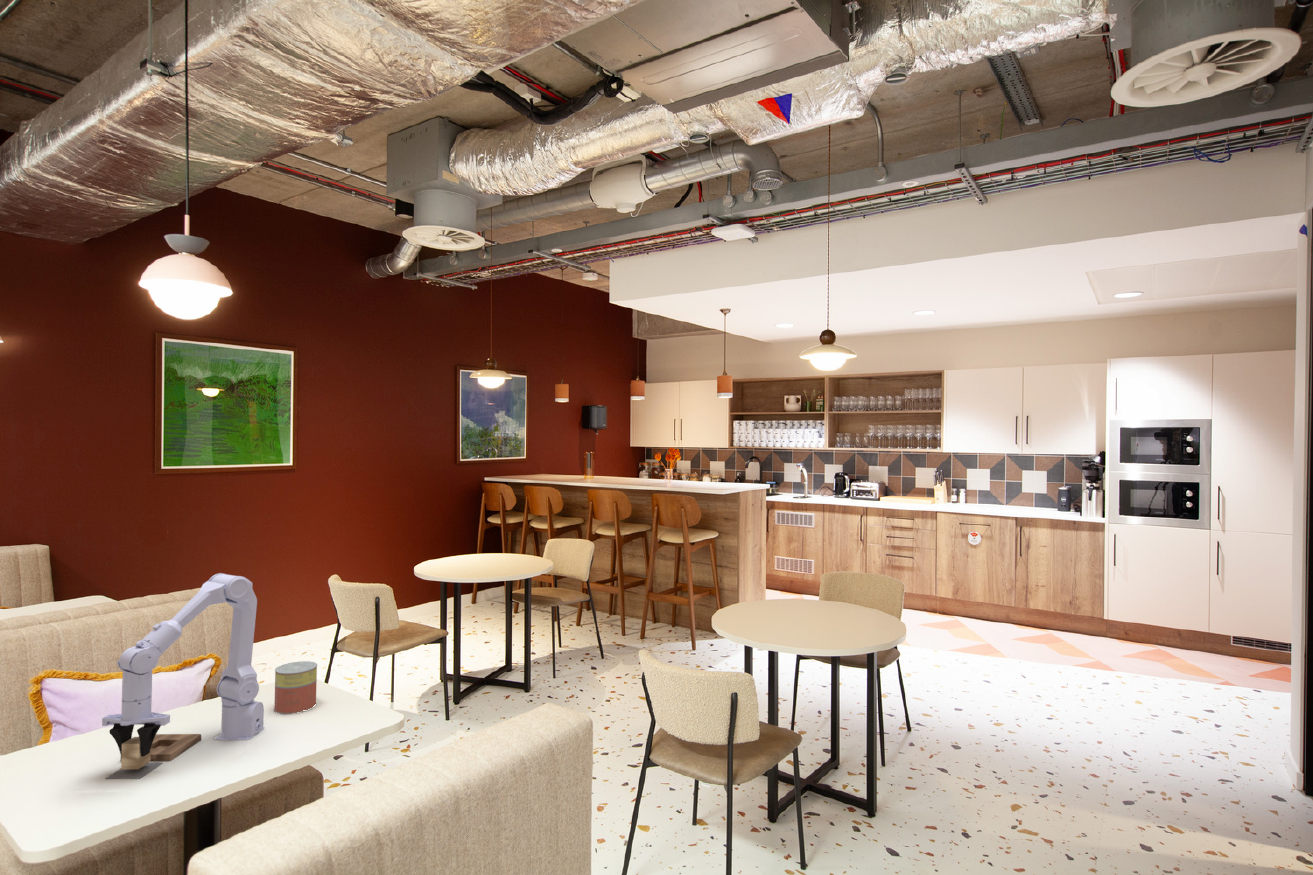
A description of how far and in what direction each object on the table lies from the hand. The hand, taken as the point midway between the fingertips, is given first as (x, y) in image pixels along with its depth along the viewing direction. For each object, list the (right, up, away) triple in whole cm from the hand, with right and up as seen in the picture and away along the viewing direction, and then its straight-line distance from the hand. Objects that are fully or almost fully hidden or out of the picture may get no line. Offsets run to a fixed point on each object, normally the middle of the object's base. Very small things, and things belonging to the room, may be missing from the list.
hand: (135, 754), depth 162 cm
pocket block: (-2, -4, +11) cm, 12 cm away
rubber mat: (0, -4, 0) cm, 4 cm away
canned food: (+16, -6, +42) cm, 45 cm away
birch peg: (0, -3, 0) cm, 3 cm away
